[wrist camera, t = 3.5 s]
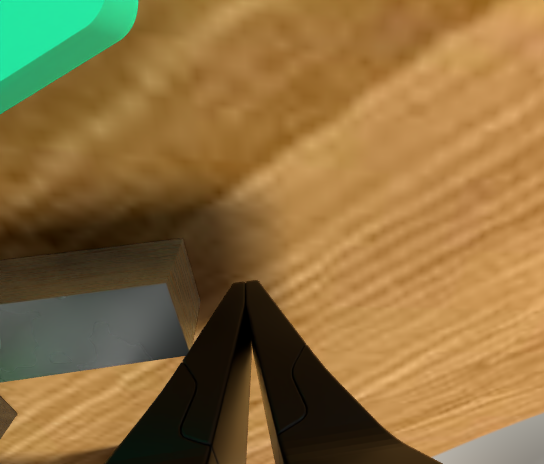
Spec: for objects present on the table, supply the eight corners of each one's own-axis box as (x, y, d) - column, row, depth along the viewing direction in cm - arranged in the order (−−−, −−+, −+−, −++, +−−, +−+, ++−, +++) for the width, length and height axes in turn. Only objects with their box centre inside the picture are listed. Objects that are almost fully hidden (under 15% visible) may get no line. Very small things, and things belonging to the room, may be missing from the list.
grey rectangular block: (200, 301, 11) (190, 355, 9) (-5, 329, 11) (-69, 392, 8) (182, 238, 10) (165, 283, 7) (-56, 267, 9) (-150, 323, 7)
